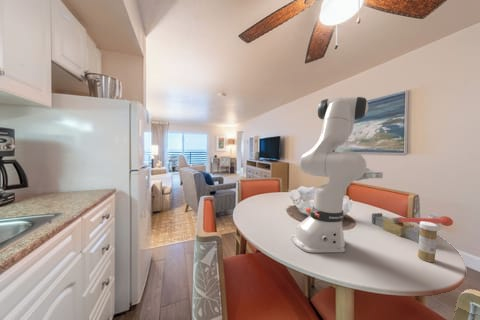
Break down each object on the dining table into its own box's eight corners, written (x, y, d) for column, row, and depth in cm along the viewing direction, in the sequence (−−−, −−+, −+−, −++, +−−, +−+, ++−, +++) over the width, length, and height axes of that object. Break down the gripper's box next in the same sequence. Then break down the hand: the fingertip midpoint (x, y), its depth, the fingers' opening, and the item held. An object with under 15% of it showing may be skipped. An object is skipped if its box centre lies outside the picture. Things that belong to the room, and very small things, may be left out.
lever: (393, 223, 86) (449, 226, 67) (391, 216, 87) (445, 216, 68) (400, 223, 87) (457, 225, 68) (398, 215, 88) (454, 215, 69)
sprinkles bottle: (428, 256, 67) (431, 221, 66) (439, 263, 62) (442, 226, 62) (414, 254, 68) (416, 220, 67) (423, 261, 63) (426, 225, 63)
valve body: (418, 244, 75) (419, 232, 74) (369, 223, 96) (370, 213, 96) (432, 243, 76) (433, 230, 76) (381, 222, 98) (382, 212, 98)
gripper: (341, 167, 106) (361, 170, 92) (369, 168, 110) (392, 170, 97) (340, 178, 106) (360, 182, 92) (368, 178, 110) (391, 182, 97)
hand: (377, 176), depth 95 cm, fingers closed
